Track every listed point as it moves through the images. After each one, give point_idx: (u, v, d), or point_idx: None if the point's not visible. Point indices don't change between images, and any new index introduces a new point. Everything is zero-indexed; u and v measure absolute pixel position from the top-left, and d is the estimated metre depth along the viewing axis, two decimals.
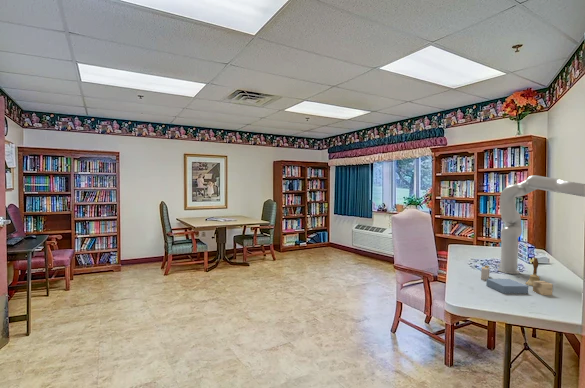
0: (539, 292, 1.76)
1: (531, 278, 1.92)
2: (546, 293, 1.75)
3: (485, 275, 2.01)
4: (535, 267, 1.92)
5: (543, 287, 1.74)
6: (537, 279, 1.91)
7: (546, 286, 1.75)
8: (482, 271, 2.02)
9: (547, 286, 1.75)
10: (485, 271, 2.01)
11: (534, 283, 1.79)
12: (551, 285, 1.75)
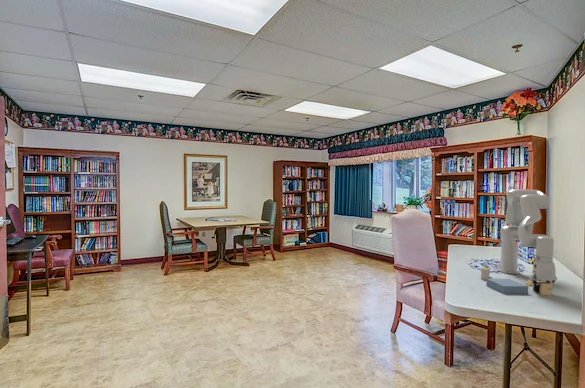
0: (539, 292, 1.76)
1: None
2: (546, 293, 1.75)
3: (485, 275, 2.01)
4: None
5: (543, 287, 1.74)
6: None
7: (546, 286, 1.74)
8: (482, 271, 2.02)
9: (547, 286, 1.75)
10: (485, 271, 2.01)
11: None
12: (551, 285, 1.75)
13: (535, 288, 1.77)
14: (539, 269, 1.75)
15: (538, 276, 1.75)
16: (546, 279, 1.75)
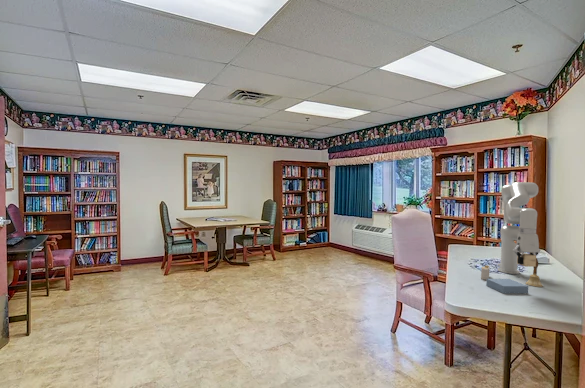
0: (523, 264, 1.78)
1: (531, 278, 1.92)
2: (530, 264, 1.77)
3: (485, 275, 2.01)
4: (535, 267, 1.92)
5: (527, 258, 1.76)
6: (537, 279, 1.91)
7: (530, 257, 1.76)
8: (482, 271, 2.02)
9: (531, 257, 1.76)
10: (485, 271, 2.01)
11: None
12: (535, 256, 1.77)
13: (519, 260, 1.79)
14: (523, 241, 1.76)
15: (522, 248, 1.77)
16: (530, 251, 1.77)
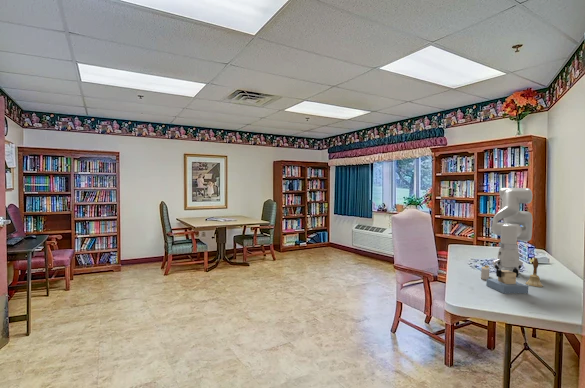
0: (503, 281, 1.81)
1: (531, 278, 1.92)
2: (510, 282, 1.80)
3: (485, 275, 2.01)
4: (535, 267, 1.92)
5: (507, 276, 1.79)
6: (537, 279, 1.91)
7: (510, 275, 1.79)
8: (482, 271, 2.02)
9: (511, 275, 1.79)
10: (485, 271, 2.01)
11: None
12: (515, 274, 1.80)
13: (497, 273, 1.82)
14: (503, 256, 1.79)
15: (502, 263, 1.80)
16: (510, 266, 1.79)
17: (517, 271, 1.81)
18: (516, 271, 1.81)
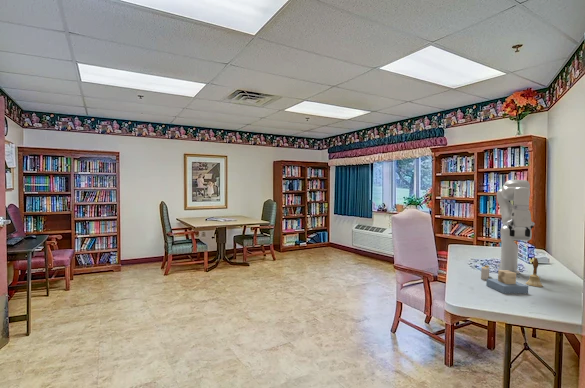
0: (503, 281, 1.81)
1: (531, 278, 1.92)
2: (510, 282, 1.80)
3: (485, 275, 2.01)
4: (535, 267, 1.92)
5: (507, 276, 1.79)
6: (537, 279, 1.91)
7: (510, 275, 1.79)
8: (482, 271, 2.02)
9: (511, 275, 1.79)
10: (485, 271, 2.01)
11: (499, 272, 1.84)
12: (515, 274, 1.80)
13: (510, 233, 1.94)
14: (516, 216, 1.92)
15: (515, 223, 1.92)
16: (522, 225, 1.92)
17: (529, 231, 1.93)
18: (528, 231, 1.94)
